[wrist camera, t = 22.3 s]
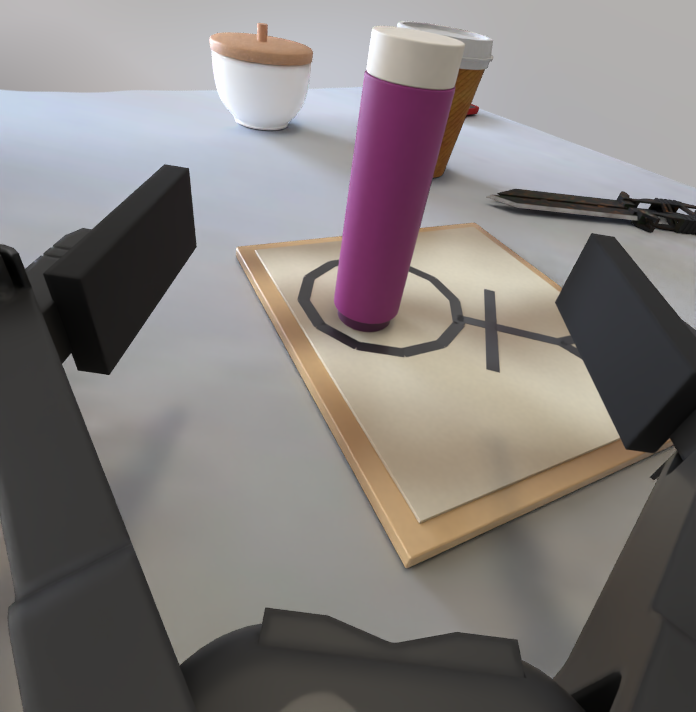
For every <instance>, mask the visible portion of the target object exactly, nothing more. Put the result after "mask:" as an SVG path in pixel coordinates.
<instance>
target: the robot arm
mask: <svg viewBox="0 0 696 712" xmlns="http://www.w3.org/2000/svg"><path fill="white" fill-rule="evenodd" d="M196 247H197V246H196V236H195V226H194V216H193V205H192V195H191V185H190V174H189V168H184V167H178V166H171V165H165V164H164V165H163V166H162V167H161V168H160V169H159V170H158V171H157V172H156V173H154V174H153V175H152V176H151V177H150V178H149V179H148V180H147V181H146V182H144V183H143V184H142V185H141V186H140V187H139V188H138V189H137V190H135V191H134V192H133V193H132V194H131V195H130V196H129V197H128V198H127V199H125V200H124V201H123V202H122V203H121V204H120V205H119V206H118V207H117V208H115V209H114V210H113V211H112V212H111V213H110V214H109V215H108V216H106V217H105V218H104V219H103V220H102V221H101V222H100V223H99V224H98V225H96V226H95V227H94V228H93V229H86V228H82V229H79V230H77V231H75V232H72V233H70V234H67V235H65V236H64V237H63V238H61V239H60V240H59V241H58V242H57V243H55V244H54V245H53V248H49V249H48V250H47V251H46V252H45V253H43V254H44V255H43V256H40V257H39V258H38V259H36V260H35V261H34V262H33V263H32V264H30V265H29V266H28V267H27V268H26V269H25V268H24V266H23V263H22V261H21V258H20V256H19V253H18V252H17V251H16V250H15V249H14V248H12V247H9V246H6V245H2V244H0V520H1V525H2V530H3V535H4V540H5V545H6V550H7V555H8V559H9V564H10V569H11V574H12V579H13V584H14V590H15V602H14V603H13V604H11V605H10V606H9V609H8V627H9V635H10V641H11V646H12V651H13V657H14V662H15V668H16V673H17V679H18V684H19V690H20V695H21V700H22V706H23V711H24V712H696V330H695V329H694V328H692V327H691V326H690V325H688V324H687V323H686V322H684V321H683V320H682V319H681V318H680V317H679V316H678V315H677V313H676V312H675V311H674V310H673V308H672V307H671V306H670V305H669V304H668V302H667V301H666V300H665V299H664V297H663V296H662V295H661V294H660V292H659V291H658V290H657V289H656V288H655V286H654V285H653V284H652V283H651V281H650V280H649V279H648V278H647V276H646V275H645V274H644V273H643V272H642V270H641V269H640V268H639V267H638V265H637V264H636V263H635V262H634V261H633V259H632V258H631V257H630V256H629V254H628V253H627V252H626V251H625V249H624V248H623V247H622V246H621V245H620V243H619V242H618V241H617V240H616V238H615V237H611V236H605V235H599V234H593V233H591V235H590V237H589V239H588V241H587V243H586V245H585V247H584V249H583V250H582V252H581V254H580V256H579V258H578V260H577V262H576V264H575V265H574V267H573V269H572V271H571V273H570V275H569V277H568V279H567V280H566V282H565V284H564V286H563V288H562V290H561V292H560V294H559V296H558V297H557V299H556V301H555V304H556V306H557V308H558V310H559V312H560V314H561V316H562V318H563V320H564V323H565V325H566V327H567V329H568V331H569V333H570V335H571V337H572V339H573V341H574V343H575V345H576V347H577V349H578V352H579V354H580V356H581V358H582V360H583V362H584V364H585V366H586V368H587V370H588V372H589V374H590V376H591V378H592V381H593V383H594V385H595V387H596V389H597V391H598V393H599V395H600V397H601V399H602V401H603V403H604V405H605V407H606V410H607V412H608V414H609V416H610V418H611V420H612V422H613V424H614V426H615V428H616V430H617V432H618V434H619V436H620V439H621V441H622V443H623V445H624V447H625V449H626V450H633V451H640V452H647V453H654V454H655V453H656V452H657V451H658V450H659V449H660V448H661V447H662V446H663V444H664V443H665V442H666V441H667V440H668V439H669V438H670V439H671V441H672V443H673V444H674V446H675V448H676V450H677V451H676V452H675V453H674V454H673V455H672V456H671V457H670V458H669V459H668V460H667V461H666V462H665V463H664V464H663V465H662V466H661V467H660V468H659V469H658V470H657V471H656V472H655V473H654V474H653V475H652V476H651V477H650V478H652V479H653V480H655V479H656V478H658V477H659V478H658V480H657V482H656V484H655V486H654V488H653V490H652V492H651V494H650V496H649V498H648V500H647V502H646V504H645V506H644V508H643V510H642V512H641V514H640V516H639V518H638V520H637V522H636V524H635V526H634V528H633V530H632V532H631V534H630V536H629V538H628V540H627V542H626V544H625V546H624V548H623V550H622V552H621V554H620V556H619V558H618V560H617V562H616V564H615V566H614V568H613V570H612V572H611V574H610V576H609V578H608V580H607V582H606V584H605V586H604V588H603V590H602V592H601V594H600V596H599V598H598V600H597V602H596V604H595V606H594V608H593V610H592V612H591V614H590V616H589V618H588V620H587V622H586V624H585V626H584V628H583V630H582V632H581V634H580V636H579V638H578V640H577V642H576V644H575V646H574V648H573V650H572V652H571V654H570V656H569V658H568V660H567V661H566V663H565V665H564V666H563V667H562V669H561V670H560V671H559V672H558V673H557V675H556V676H555V677H554V678H553V679H551V678H550V677H549V676H547V675H546V674H545V673H543V672H542V671H541V670H539V669H537V668H535V667H534V666H532V665H530V664H529V663H527V662H525V661H523V660H521V656H520V650H519V645H518V640H515V639H507V638H499V637H492V636H484V635H476V634H468V633H460V632H454V633H449V634H443V635H438V636H432V637H427V638H421V639H416V640H410V641H405V642H399V643H392V642H388V641H385V640H383V639H381V638H378V637H376V636H374V635H372V634H369V633H367V632H365V631H362V630H360V629H358V628H355V627H353V626H351V625H349V624H346V623H344V622H342V621H339V620H337V619H335V618H332V617H330V616H327V615H319V614H312V613H304V612H296V611H288V610H280V609H273V608H265V612H264V617H263V622H262V624H258V625H252V626H247V627H244V628H241V629H238V630H235V631H232V632H230V633H228V634H225V635H223V636H221V637H219V638H217V639H215V640H214V641H212V642H210V643H209V644H207V645H205V646H204V647H202V648H201V649H199V650H198V651H197V652H196V653H194V654H193V655H192V656H191V657H189V658H188V659H187V660H185V661H184V662H183V663H182V664H181V665H180V666H179V663H178V661H177V658H176V656H175V653H174V650H173V648H172V645H171V643H170V640H169V638H168V635H167V632H166V630H165V627H164V625H163V622H162V620H161V617H160V614H159V612H158V609H157V607H156V604H155V602H154V599H153V597H152V594H151V591H150V589H149V586H148V584H147V581H146V579H145V576H144V573H143V571H142V568H141V566H140V563H139V561H138V558H137V556H136V553H135V550H134V548H133V545H132V543H131V540H130V538H129V535H128V532H127V530H126V527H125V525H124V522H123V520H122V517H121V514H120V512H119V509H118V507H117V504H116V502H115V499H114V497H113V494H112V491H111V489H110V486H109V484H108V481H107V479H106V476H105V473H104V471H103V468H102V466H101V463H100V461H99V458H98V455H97V453H96V450H95V448H94V445H93V443H92V440H91V438H90V435H89V432H88V430H87V427H86V425H85V422H84V420H83V417H82V414H81V412H80V409H79V407H78V404H77V402H76V399H75V396H74V394H73V391H72V389H71V386H70V384H69V381H68V379H67V376H66V373H65V371H64V368H63V366H62V363H63V362H64V361H65V360H66V359H67V357H68V356H69V355H70V354H71V353H72V356H73V358H74V361H75V364H76V367H77V369H78V370H79V371H86V372H92V373H99V374H106V375H110V373H111V372H112V370H113V369H114V367H115V366H116V364H117V363H118V362H119V360H120V359H121V357H122V356H123V354H124V353H125V351H126V350H127V348H128V347H129V345H130V344H131V342H132V341H133V339H134V338H135V337H136V335H137V334H138V332H139V331H140V329H141V328H142V326H143V325H144V323H145V322H146V320H147V319H148V317H149V316H150V314H151V313H152V312H153V310H154V309H155V307H156V306H157V304H158V303H159V301H160V300H161V298H162V297H163V295H164V294H165V292H166V291H167V290H168V288H169V287H170V285H171V284H172V282H173V281H174V279H175V278H176V276H177V275H178V273H179V272H180V270H181V269H182V267H183V266H184V265H185V263H186V262H187V260H188V259H189V257H190V256H191V254H192V253H193V251H194V250H195V248H196Z"/></svg>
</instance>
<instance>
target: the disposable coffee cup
mask: <svg viewBox="0 0 696 712" xmlns="http://www.w3.org/2000/svg"><path fill="white" fill-rule="evenodd" d="M397 27H401V28H408V29H414V30H420V31H425V32H430V33H435V34H439V35H443V36H447V37H451V38H454V39H457V40H459V41H461V42H463V43H464V44H465V48H464V52H463V56H462V60H461V64H460V68H459V72H458V76H457V80H456V83H455V93H454V96H453V100H452V104H451V108H450V112H449V116H448V120H447V124H446V128H445V132H444V135H443V139H442V143H441V147H440V151H439V155H438V159H437V163H436V167H435V171H434V174H433V178H436V177H439V176H442V175H443V173H444V171H445V168H446V165H447V163H448V160H449V158H450V155H451V153H452V150H453V148H454V145H455V143H456V140H457V138H458V135H459V133H460V130H461V128H462V125H463V123H464V120H465V118H466V115H467V113H468V110H469V108H470V105H471V102H472V100H473V97H474V95H475V92H476V90H477V87H478V85H479V82H480V80H481V78H482V75H483V73H484V70H485V69H486V68H488V65H489V62H490V61H492V60H493V56H492V55H491V51H492V43H493V39H491V38H489V37H487V36H484V35H481V34H478V33H473V32H470V31H466V30H461V29H456V28H451V27H446V26H441V25H435V24H428V23H420V22H409V21H400V22H398V25H397Z"/></svg>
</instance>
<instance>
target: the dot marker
mask: <svg viewBox="0 0 696 712" xmlns="http://www.w3.org/2000/svg"><path fill="white" fill-rule="evenodd" d="M464 48H465V44H464V43H463V42H461V41H459V40H457V39H454V38H451V37H447V36H443V35H439V34H435V33H430V32H425V31H420V30H414V29H408V28H401V27H392V26H375V27H373V28H372V33H371V41H370V47H369V55H368V62H367V70H366V71H365V74H364V82H363V89H362V96H361V104H360V111H359V118H358V126H357V133H356V140H355V148H354V155H353V162H352V170H351V177H350V184H349V192H348V199H347V206H346V214H345V221H344V228H343V236H342V243H341V250H340V258H339V265H338V272H337V280H336V287H335V294H334V304H335V306H336V308H337V309H338V316H339V319H340V320H341V321H342V322H343V323H344V324H345V325H346V326H348V327H350V328H352V329H354V330H358V331H362V332H376V331H380V330H383V329H384V328H386V327H387V326H388V325H389V323H390V320H391V319H393V318H394V317H395V316H396V315H397V313H398V311H399V307H400V303H401V299H402V295H403V291H404V288H405V284H406V280H407V276H408V272H409V268H410V264H411V260H412V256H413V252H414V249H415V245H416V241H417V237H418V233H419V229H420V225H421V221H422V217H423V213H424V210H425V206H426V202H427V198H428V194H429V190H430V186H431V182H432V178H433V174H434V171H435V167H436V163H437V159H438V155H439V151H440V147H441V143H442V139H443V135H444V132H445V128H446V124H447V120H448V116H449V112H450V108H451V104H452V100H453V96H454V93H455V83H456V80H457V76H458V72H459V68H460V64H461V60H462V56H463V52H464Z"/></svg>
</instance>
